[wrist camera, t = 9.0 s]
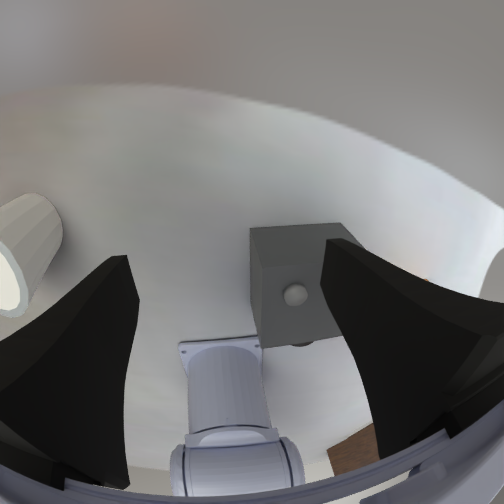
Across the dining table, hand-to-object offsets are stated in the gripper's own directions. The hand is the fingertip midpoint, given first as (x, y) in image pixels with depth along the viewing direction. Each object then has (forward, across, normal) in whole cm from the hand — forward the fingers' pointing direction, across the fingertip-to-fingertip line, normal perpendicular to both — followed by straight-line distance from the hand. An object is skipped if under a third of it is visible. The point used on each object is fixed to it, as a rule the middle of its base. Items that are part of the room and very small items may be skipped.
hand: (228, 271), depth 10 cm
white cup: (+10, +15, +1) cm, 18 cm away
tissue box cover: (+10, -35, +66) cm, 75 cm away
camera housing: (+9, -6, +6) cm, 13 cm away
